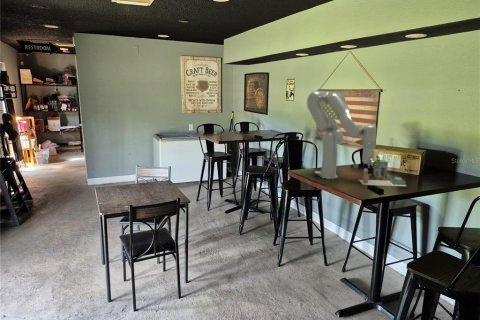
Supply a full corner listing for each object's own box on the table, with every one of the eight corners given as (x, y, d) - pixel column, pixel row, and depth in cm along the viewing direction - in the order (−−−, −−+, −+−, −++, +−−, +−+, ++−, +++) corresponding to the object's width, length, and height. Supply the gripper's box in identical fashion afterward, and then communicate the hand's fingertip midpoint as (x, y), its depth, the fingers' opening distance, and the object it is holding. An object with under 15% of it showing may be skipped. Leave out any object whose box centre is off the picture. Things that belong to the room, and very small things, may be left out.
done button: (395, 182, 204) (395, 178, 204) (392, 180, 209) (393, 177, 208) (402, 182, 204) (403, 179, 203) (400, 180, 208) (400, 177, 208)
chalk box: (386, 178, 221) (388, 157, 218) (373, 178, 221) (375, 157, 219) (381, 175, 230) (383, 154, 227) (368, 175, 231) (370, 154, 228)
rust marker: (363, 182, 207) (364, 169, 205) (362, 181, 210) (363, 167, 208) (369, 183, 207) (370, 169, 205) (367, 181, 210) (368, 168, 208)
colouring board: (363, 185, 203) (363, 181, 202) (358, 181, 215) (358, 176, 214) (406, 187, 200) (407, 182, 200) (399, 182, 212) (400, 178, 212)
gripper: (359, 143, 212) (358, 169, 215) (366, 147, 196) (365, 175, 198) (371, 143, 212) (370, 169, 215) (379, 147, 195) (378, 175, 198)
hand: (368, 172), depth 206 cm, fingers open, 9 cm apart
